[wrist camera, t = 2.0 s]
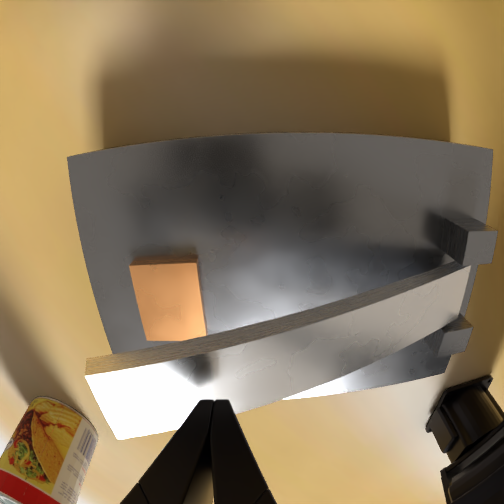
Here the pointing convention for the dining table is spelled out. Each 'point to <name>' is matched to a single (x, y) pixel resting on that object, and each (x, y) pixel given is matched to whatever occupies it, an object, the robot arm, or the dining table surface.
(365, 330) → the steel strap
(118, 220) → the silver metal tray
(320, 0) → the dining table surface
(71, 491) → the canned food
